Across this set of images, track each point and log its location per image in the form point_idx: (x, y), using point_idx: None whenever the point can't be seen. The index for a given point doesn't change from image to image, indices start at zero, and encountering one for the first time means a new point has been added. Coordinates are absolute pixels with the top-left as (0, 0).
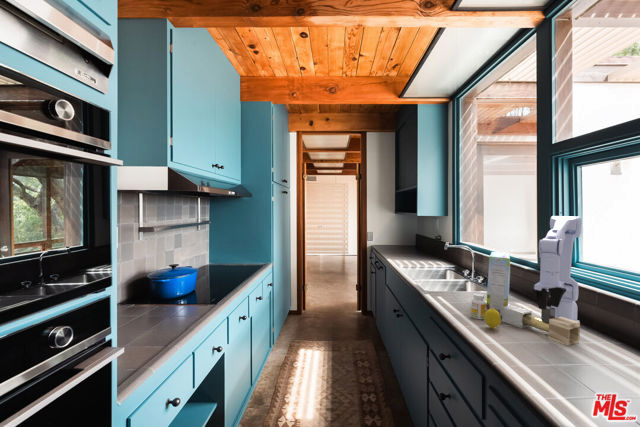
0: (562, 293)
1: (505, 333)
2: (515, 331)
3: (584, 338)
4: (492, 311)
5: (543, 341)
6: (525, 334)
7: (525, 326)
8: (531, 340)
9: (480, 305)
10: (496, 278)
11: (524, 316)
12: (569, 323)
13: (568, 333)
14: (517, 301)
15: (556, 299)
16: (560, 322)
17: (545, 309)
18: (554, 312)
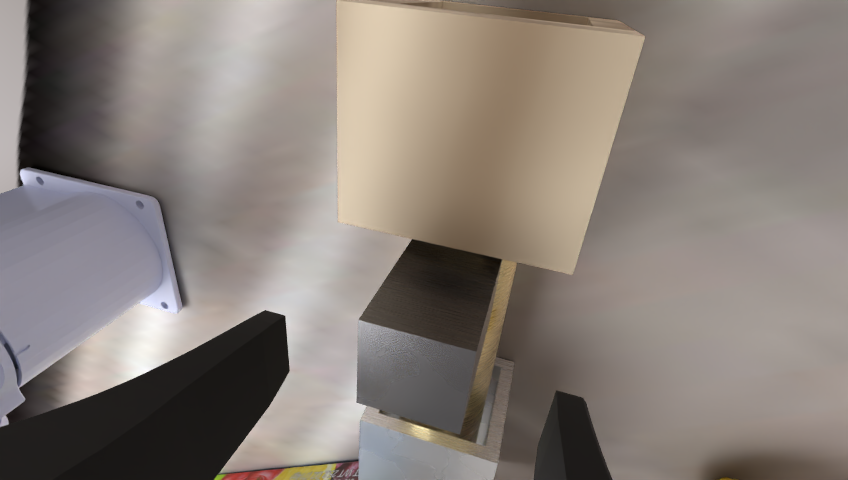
0: (41, 457)
1: (758, 409)
2: (633, 374)
3: (286, 13)
4: None
5: (701, 186)
6: (639, 317)
7: None
8: (769, 253)
9: None
10: None
11: (467, 421)
12: (536, 60)
13: (622, 26)
14: None
15: (208, 407)
16: (604, 150)
17: (565, 394)
18: (392, 292)
